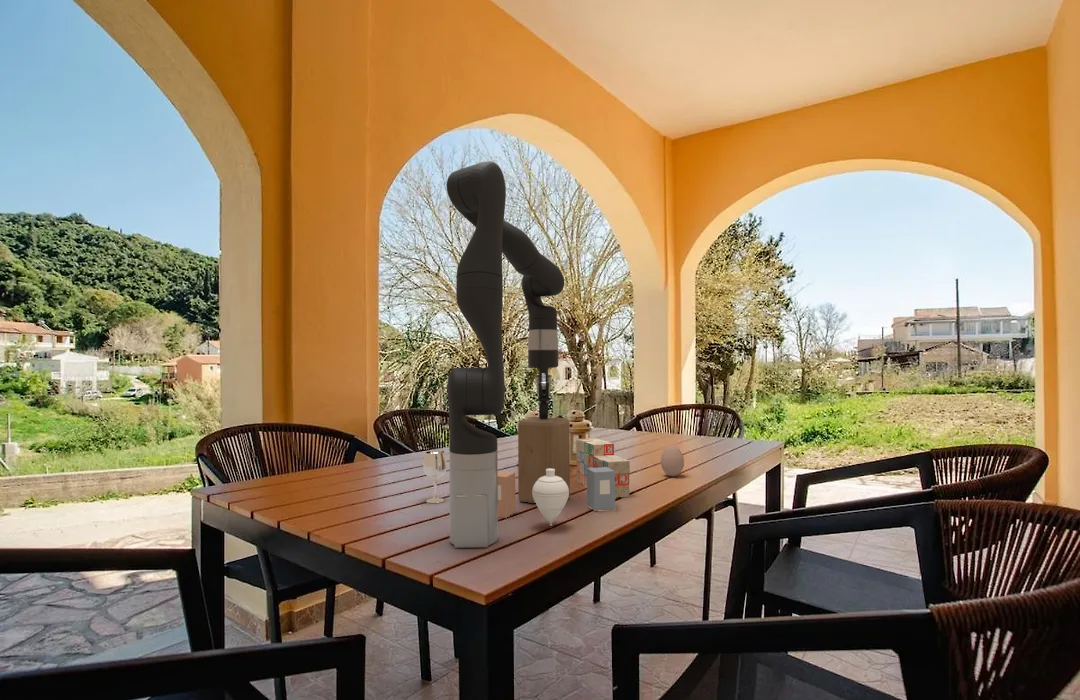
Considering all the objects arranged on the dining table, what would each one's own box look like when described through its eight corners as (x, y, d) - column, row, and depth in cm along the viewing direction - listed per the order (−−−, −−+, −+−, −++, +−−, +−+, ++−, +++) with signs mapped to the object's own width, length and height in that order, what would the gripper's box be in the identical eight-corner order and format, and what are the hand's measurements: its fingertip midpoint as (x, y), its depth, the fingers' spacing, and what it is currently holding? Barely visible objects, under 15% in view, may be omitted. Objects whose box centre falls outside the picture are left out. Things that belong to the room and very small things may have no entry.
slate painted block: (615, 510, 127) (614, 471, 127) (594, 512, 126) (594, 472, 126) (606, 504, 132) (606, 467, 132) (587, 506, 131) (586, 468, 131)
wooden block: (516, 502, 135) (516, 420, 135) (536, 493, 143) (535, 416, 144) (553, 507, 130) (553, 422, 130) (571, 497, 139) (570, 417, 139)
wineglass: (419, 503, 134) (419, 453, 135) (429, 497, 140) (429, 449, 140) (441, 504, 133) (441, 454, 133) (450, 498, 139) (450, 450, 139)
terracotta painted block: (506, 518, 121) (506, 477, 122) (486, 516, 123) (485, 475, 123) (515, 512, 126) (515, 472, 126) (495, 510, 128) (495, 471, 128)
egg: (680, 473, 166) (680, 443, 166) (686, 478, 160) (686, 447, 160) (658, 474, 166) (658, 443, 166) (664, 479, 159) (663, 447, 160)
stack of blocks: (630, 497, 139) (629, 448, 139) (607, 499, 137) (607, 449, 137) (596, 479, 160) (595, 437, 160) (576, 481, 158) (575, 438, 158)
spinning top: (544, 519, 120) (543, 464, 120) (575, 524, 116) (575, 467, 116) (525, 529, 113) (524, 470, 114) (558, 535, 109) (557, 474, 110)
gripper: (559, 348, 131) (559, 421, 130) (557, 348, 144) (557, 415, 144) (527, 348, 131) (528, 421, 130) (528, 348, 144) (528, 415, 144)
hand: (543, 418), depth 137 cm, fingers closed
